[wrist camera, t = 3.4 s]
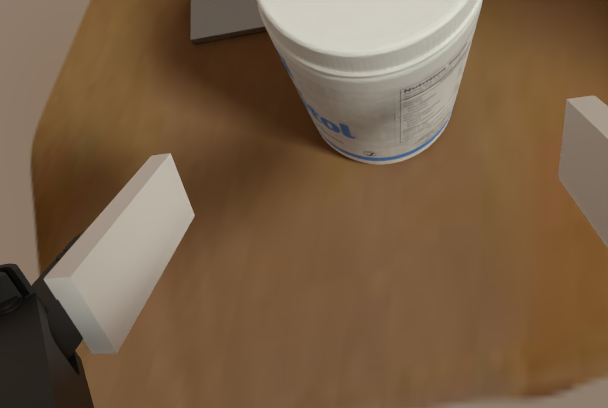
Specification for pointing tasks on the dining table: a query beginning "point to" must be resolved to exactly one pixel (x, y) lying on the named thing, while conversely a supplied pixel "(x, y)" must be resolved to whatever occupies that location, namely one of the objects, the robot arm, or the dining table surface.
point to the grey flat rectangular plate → (224, 19)
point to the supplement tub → (374, 68)
